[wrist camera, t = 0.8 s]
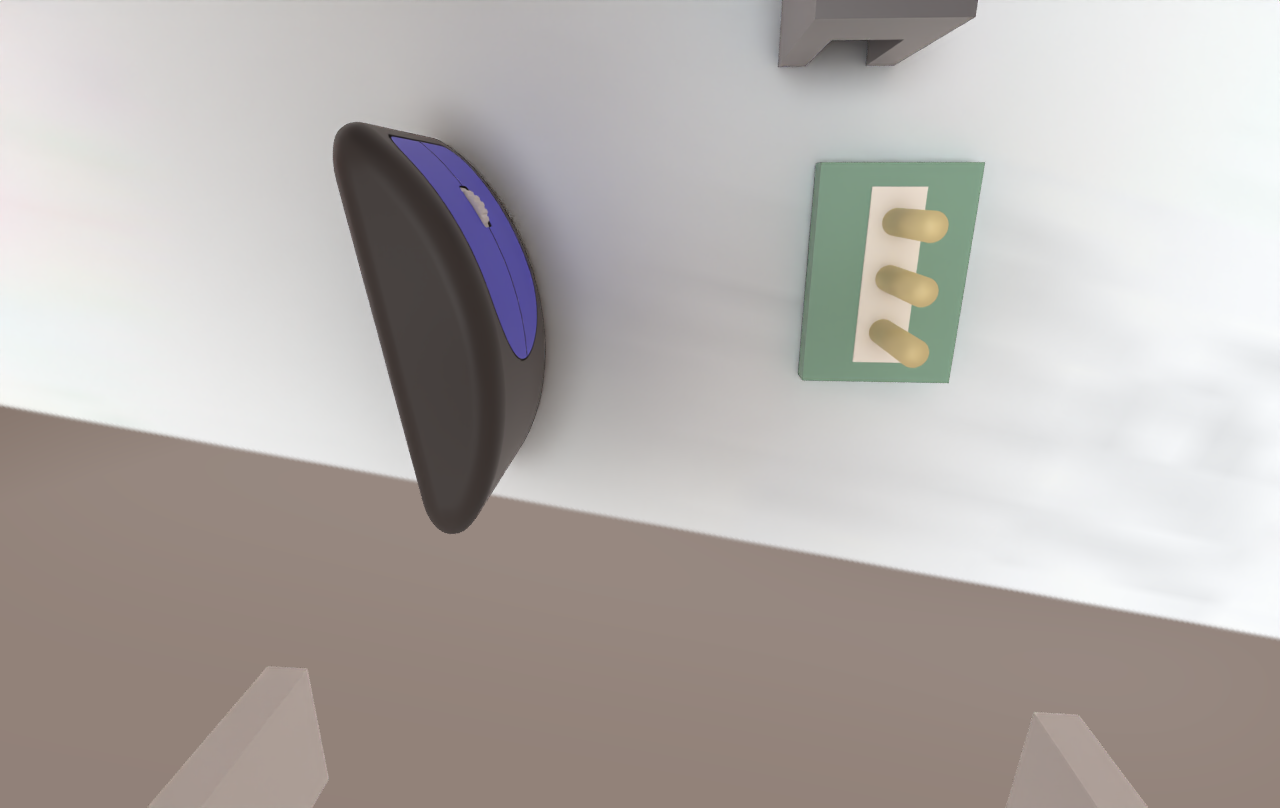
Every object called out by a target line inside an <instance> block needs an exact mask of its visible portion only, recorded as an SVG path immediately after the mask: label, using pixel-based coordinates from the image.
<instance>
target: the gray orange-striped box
mask: <svg viewBox="0 0 1280 808" xmlns="http://www.w3.org/2000/svg"><path fill="white" fill-rule="evenodd" d="M977 3H978V0H782V12H781V28H780V43H779V59H778V67H799V66H806V65H807V64H808V63H809V62H810V61H811V60H812V59H813V58H814V57H815V56H816V55H817V54H818V53H819V52H820V51H821V50H822V49H823V48H824V47H825V46H826V45H827V44H828V43H829V42H830V41H831V40H868V49H867V59H866V66H894V65H896V64H897V63H899V62H901V61H902V60H904V59H906V58H907V57H909V56H911V55H912V54H914V53H916V52H917V51H919V50H921V49H922V48H924V47H926V46H928V45H929V44H931V43H933V42H934V41H936V40H938V39H939V38H941V37H943V36H944V35H946V34H948V33H949V32H951V31H953V30H954V29H956V28H958V27H959V26H961V25H963V24H964V23H966V22H968V21H969V20H971V19H973V18H975V17H976V10H977Z"/></svg>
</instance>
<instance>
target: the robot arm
mask: <svg viewBox="0 0 1280 808" xmlns="http://www.w3.org/2000/svg"><path fill="white" fill-rule="evenodd" d="M328 780H329V777H328V772H327V767H326V761H325V756H324V751H323V747H322V741H321V736H320V731H319V726H318V721H317V715H316V710H315V706H314V700H313V695H312V690H311V685H310V680H309V675H308V669H305V668H288V667H287V668H286V667H272V666H267V667H266V668H265V670H264V671H263V672H262V673H261V675H260V676H259V677H258V678H257V679H256V680H255V681H254V683H253V684H252V685H251V686H250V687H249V688H248V690H247V691H246V692H245V693H244V694H243V695H242V697H241V698H240V699H239V700H238V701H237V703H236V704H235V705H234V706H233V707H232V708H231V710H230V711H229V712H228V713H227V714H226V715H225V717H224V718H223V719H222V720H221V721H220V722H219V724H218V725H217V726H216V727H215V728H214V730H213V731H212V732H211V733H210V734H209V735H208V737H207V738H206V739H205V740H204V741H203V742H202V744H201V745H200V746H199V747H198V748H197V750H196V751H195V752H194V753H193V754H192V755H191V756H190V758H189V759H188V760H187V761H186V762H185V763H184V765H183V766H182V767H181V768H180V769H179V771H178V772H177V773H176V774H175V775H174V777H173V778H172V779H171V780H170V781H169V783H167V785H166V786H165V787H164V788H163V789H162V790H161V792H160V793H159V794H158V795H157V796H156V797H155V799H154V800H153V801H152V802H151V804H150V805H149V806H148V807H147V808H312V807H313V805H314V803H315V802H316V800H317V798H318V797H319V795H320V793H321V792H322V790H323V788H324V787H325V785H326V783H327V781H328ZM1006 808H1148V806H1147V805H1146V804H1145V802H1144V801H1143V800H1142V798H1141V797H1140V796H1139V795H1138V793H1137V792H1136V791H1135V789H1134V788H1133V787H1132V785H1131V784H1130V783H1129V781H1128V780H1127V779H1126V778H1125V776H1124V775H1123V773H1122V772H1121V771H1120V769H1119V768H1118V767H1117V765H1116V764H1115V763H1114V761H1113V760H1112V759H1111V758H1110V756H1109V755H1108V753H1107V752H1106V751H1105V749H1104V748H1103V747H1102V745H1101V744H1100V743H1099V742H1098V740H1097V739H1096V737H1095V736H1094V735H1093V733H1092V732H1091V731H1090V729H1089V728H1088V727H1087V725H1086V724H1085V723H1084V721H1083V720H1082V719H1081V717H1080V716H1079V715H1073V714H1056V713H1039V712H1034V713H1033V716H1032V720H1031V723H1030V726H1029V730H1028V734H1027V737H1026V740H1025V743H1024V747H1023V750H1022V754H1021V757H1020V761H1019V764H1018V767H1017V771H1016V774H1015V778H1014V781H1013V785H1012V788H1011V792H1010V795H1009V799H1008V802H1007V805H1006Z"/></svg>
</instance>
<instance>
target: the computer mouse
mask: <svg viewBox="0 0 1280 808" xmlns="http://www.w3.org/2000/svg"><path fill="white" fill-rule="evenodd" d="M333 164H334V172H335V177H336V181H337V185H338V188H339V192H340V196H341V199H342V203H343V207H344V211H345V214H346V218H347V222H348V225H349V229H350V233H351V237H352V240H353V244H354V248H355V251H356V255H357V259H358V263H359V266H360V270H361V274H362V277H363V281H364V285H365V289H366V292H367V296H368V300H369V303H370V307H371V311H372V315H373V318H374V322H375V326H376V329H377V333H378V337H379V340H380V344H381V348H382V352H383V355H384V359H385V363H386V366H387V370H388V374H389V378H390V381H391V385H392V389H393V392H394V396H395V400H396V404H397V407H398V411H399V415H400V418H401V422H402V426H403V430H404V433H405V437H406V441H407V444H408V448H409V452H410V456H411V459H412V463H413V467H414V470H415V474H416V478H417V482H418V485H419V489H420V493H421V496H422V500H423V504H424V507H425V509H426V512H427V514H428V516H429V518H430V520H431V521H432V522H433V524H434V525H435V526H436V527H437V528H438V529H439V530H441V531H442V532H445V533H448V534H455V533H460V532H462V531H464V530H465V529H467V528H468V527H469V526H470V525H471V524H472V522H473V521H474V519H476V517H477V516H478V514H479V512H480V511H481V509H482V508H483V506H484V505H485V503H486V501H487V500H488V498H489V497H490V495H491V493H492V492H493V490H494V489H495V487H496V485H497V484H498V482H499V481H500V479H501V477H502V476H503V474H504V473H505V471H506V470H507V468H508V466H509V465H510V463H511V462H512V460H513V458H514V457H515V455H516V454H517V452H518V450H519V449H520V447H521V446H522V444H523V442H524V440H525V439H526V437H527V435H528V433H529V430H530V428H531V426H532V423H533V421H534V418H535V414H536V411H537V408H538V404H539V400H540V396H541V391H542V385H543V378H544V367H545V334H544V324H543V315H542V309H541V304H540V298H539V294H538V290H537V285H536V282H535V278H534V275H533V272H532V268H531V265H530V263H529V260H528V257H527V254H526V252H525V249H524V247H523V245H522V242H521V240H520V238H519V236H518V234H517V232H516V230H515V228H514V226H513V224H512V222H511V220H510V218H509V216H508V214H507V213H506V211H505V209H504V208H503V206H502V205H501V203H500V201H499V200H498V198H497V197H496V196H495V194H494V193H493V191H492V190H491V188H490V187H489V186H488V185H487V183H486V182H485V181H484V179H483V178H482V177H481V176H480V175H479V174H478V172H477V171H476V170H475V169H474V168H473V167H472V166H471V165H470V164H469V163H468V162H467V161H466V160H465V159H464V158H463V157H462V156H461V155H459V154H458V153H457V152H456V151H454V150H453V149H452V148H450V147H449V146H447V145H446V144H444V143H443V142H441V141H439V140H437V139H434V138H430V137H426V136H421V135H416V134H412V133H407V132H403V131H398V130H394V129H389V128H385V127H380V126H376V125H371V124H366V123H361V122H353V123H349V124H346V125H345V126H343V127H342V128H341V129H340V130H339V131H338V132H337V134H336V136H335V139H334V145H333ZM513 284H514V285H513Z"/></svg>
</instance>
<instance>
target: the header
mask: <svg viewBox="0 0 1280 808" xmlns="http://www.w3.org/2000/svg"><path fill="white" fill-rule="evenodd" d="M984 166H985V162H821V163H817V164H816V169H815V181H814V192H813V204H812V216H811V228H810V239H809V251H808V263H807V274H806V286H805V298H804V310H803V321H802V333H801V345H800V357H799V368H798V374H799V376H800V377H801V379H802V380H809V381H863V382H917V383H949V377H950V371H951V365H952V359H953V353H954V347H955V341H956V335H957V329H958V323H959V317H960V311H961V305H962V299H963V293H964V287H965V281H966V275H967V269H968V263H969V256H970V250H971V244H972V238H973V232H974V226H975V220H976V214H977V208H978V202H979V196H980V190H981V184H982V178H983V172H984Z"/></svg>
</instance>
